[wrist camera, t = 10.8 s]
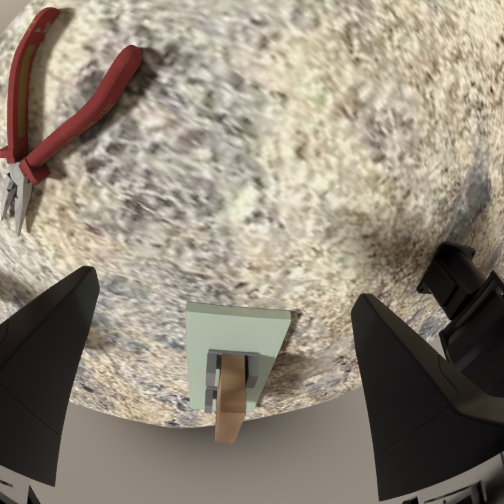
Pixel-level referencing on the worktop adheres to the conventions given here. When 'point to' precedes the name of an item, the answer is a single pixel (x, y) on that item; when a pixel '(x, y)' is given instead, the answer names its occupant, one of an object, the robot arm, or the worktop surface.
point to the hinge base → (231, 348)
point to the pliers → (33, 165)
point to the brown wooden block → (230, 398)
